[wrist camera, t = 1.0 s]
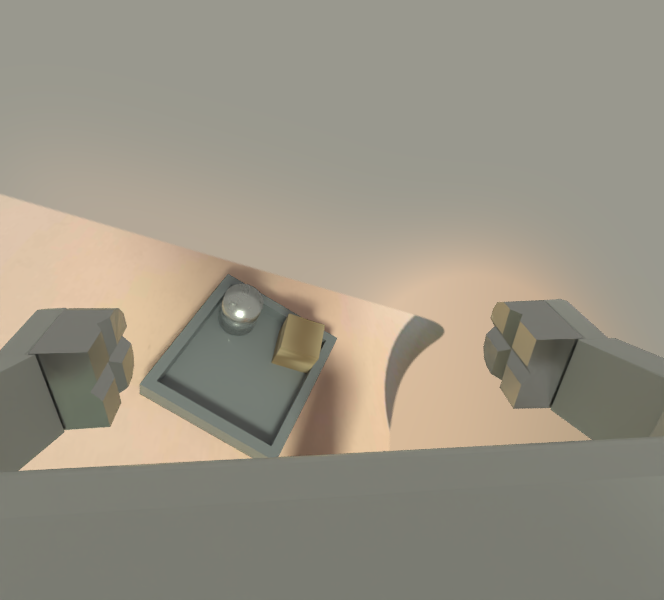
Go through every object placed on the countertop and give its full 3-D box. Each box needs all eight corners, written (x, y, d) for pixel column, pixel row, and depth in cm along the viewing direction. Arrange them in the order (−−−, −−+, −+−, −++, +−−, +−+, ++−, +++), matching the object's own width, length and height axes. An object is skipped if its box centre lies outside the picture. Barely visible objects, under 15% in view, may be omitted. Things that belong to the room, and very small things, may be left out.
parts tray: (139, 393, 41) (139, 384, 39) (224, 286, 50) (228, 273, 48) (269, 467, 42) (275, 461, 40) (329, 347, 51) (337, 338, 49)
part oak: (271, 363, 46) (280, 346, 43) (279, 331, 48) (289, 313, 45) (306, 373, 47) (318, 358, 44) (313, 341, 49) (324, 325, 46)
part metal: (210, 323, 46) (216, 304, 43) (230, 297, 49) (237, 277, 45) (243, 342, 46) (251, 324, 43) (261, 315, 49) (270, 296, 46)
